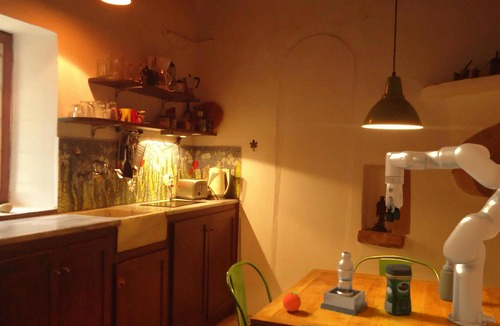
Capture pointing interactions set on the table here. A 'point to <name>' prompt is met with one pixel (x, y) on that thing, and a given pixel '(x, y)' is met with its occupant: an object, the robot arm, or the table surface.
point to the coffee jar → (398, 289)
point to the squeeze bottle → (446, 282)
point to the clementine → (291, 302)
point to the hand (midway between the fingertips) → (393, 220)
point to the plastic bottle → (345, 275)
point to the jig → (344, 301)
